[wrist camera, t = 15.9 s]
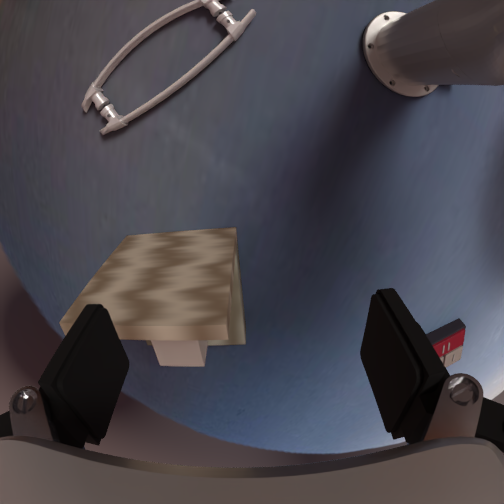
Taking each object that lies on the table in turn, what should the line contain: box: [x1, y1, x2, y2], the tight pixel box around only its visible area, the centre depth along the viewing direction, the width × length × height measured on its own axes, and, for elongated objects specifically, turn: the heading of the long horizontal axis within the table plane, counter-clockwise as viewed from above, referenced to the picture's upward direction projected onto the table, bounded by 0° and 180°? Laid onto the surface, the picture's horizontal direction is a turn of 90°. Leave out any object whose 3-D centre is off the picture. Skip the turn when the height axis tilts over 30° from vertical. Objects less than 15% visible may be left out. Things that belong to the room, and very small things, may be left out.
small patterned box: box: [426, 319, 466, 368], centre depth 52 cm, size 11×4×15 cm
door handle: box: [81, 0, 256, 135], centre depth 30 cm, size 3×10×25 cm
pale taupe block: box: [151, 340, 208, 366], centre depth 38 cm, size 6×13×8 cm, turn 4°
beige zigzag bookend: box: [59, 227, 246, 345], centre depth 36 cm, size 16×18×20 cm
